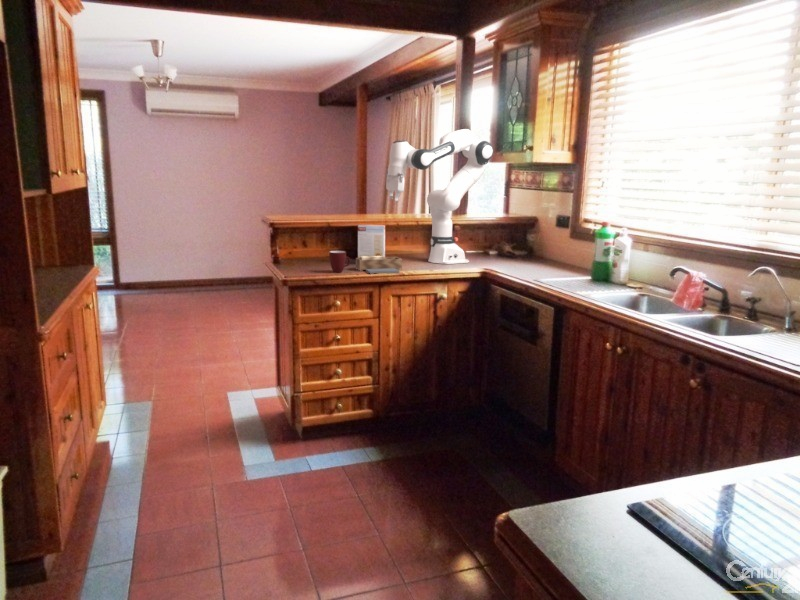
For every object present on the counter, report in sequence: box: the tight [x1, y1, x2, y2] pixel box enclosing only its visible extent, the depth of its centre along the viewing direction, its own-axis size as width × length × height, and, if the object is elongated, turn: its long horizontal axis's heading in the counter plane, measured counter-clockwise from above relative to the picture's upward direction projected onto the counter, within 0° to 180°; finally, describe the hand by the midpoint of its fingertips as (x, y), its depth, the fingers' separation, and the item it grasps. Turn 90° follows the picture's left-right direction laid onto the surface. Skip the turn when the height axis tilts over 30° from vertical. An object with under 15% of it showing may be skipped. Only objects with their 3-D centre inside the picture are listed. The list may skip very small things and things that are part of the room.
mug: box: [328, 250, 351, 274], centre depth 300 cm, size 10×8×10 cm
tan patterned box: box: [355, 256, 403, 272], centre depth 311 cm, size 22×8×6 cm, turn 109°
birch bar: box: [360, 256, 383, 260], centre depth 309 cm, size 11×4×2 cm, turn 109°
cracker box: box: [357, 224, 386, 258], centre depth 326 cm, size 14×6×21 cm, turn 84°
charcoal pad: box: [365, 268, 400, 275], centre depth 303 cm, size 15×8×1 cm, turn 109°
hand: (393, 200), depth 316 cm, fingers open, 8 cm apart
